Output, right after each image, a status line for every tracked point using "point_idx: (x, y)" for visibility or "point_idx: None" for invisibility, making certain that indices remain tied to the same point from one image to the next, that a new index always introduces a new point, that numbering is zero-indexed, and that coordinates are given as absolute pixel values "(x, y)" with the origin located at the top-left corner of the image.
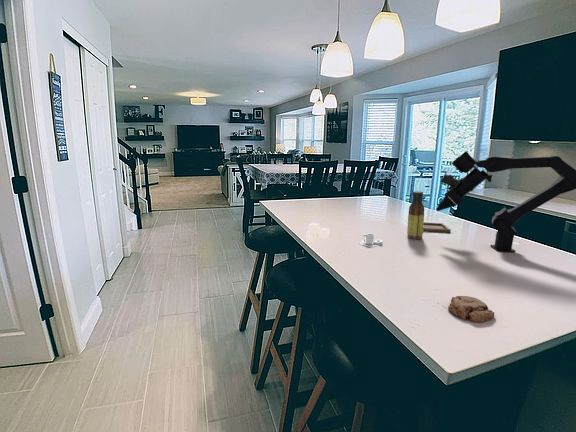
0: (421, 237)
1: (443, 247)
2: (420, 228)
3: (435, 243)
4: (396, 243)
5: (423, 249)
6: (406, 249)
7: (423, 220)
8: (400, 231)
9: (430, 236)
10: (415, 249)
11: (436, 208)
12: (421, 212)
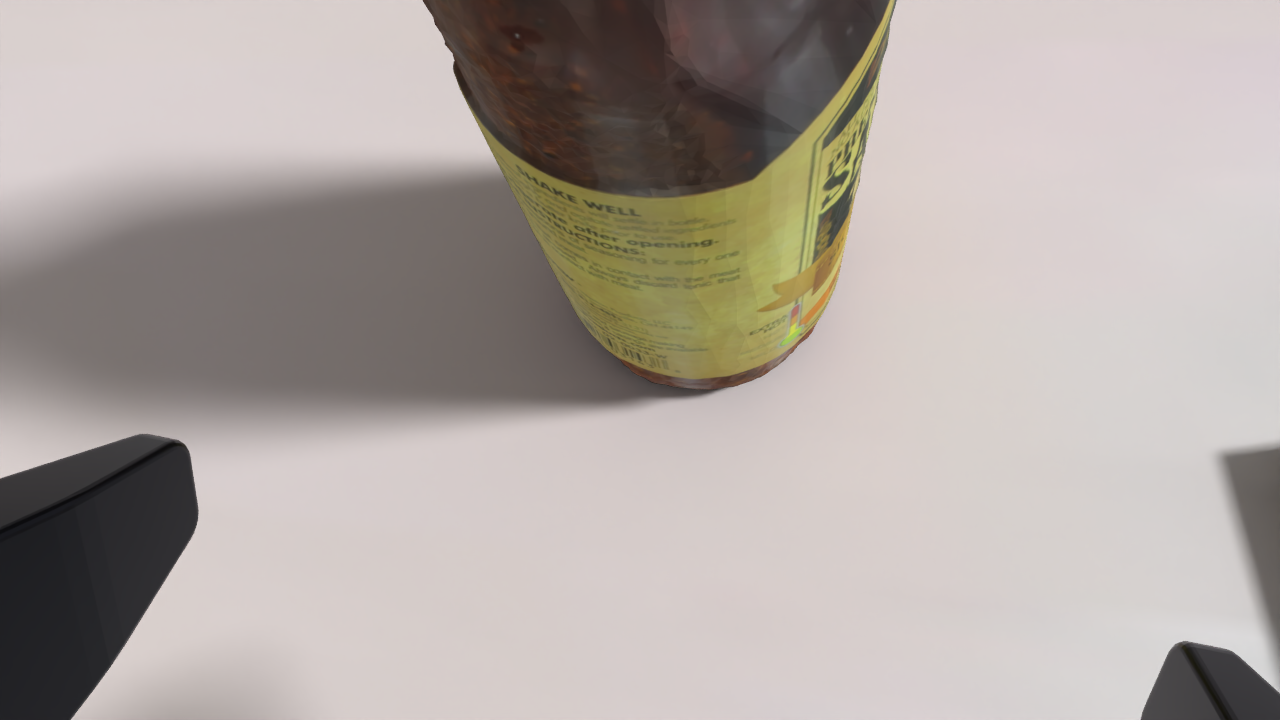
0: (632, 369)
1: (251, 707)
2: (557, 272)
3: (459, 600)
4: (290, 18)
5: (78, 373)
6: (34, 147)
7: (604, 258)
8: (1068, 53)
9: (930, 566)
10: (57, 262)
11: (146, 444)
12: (463, 68)
